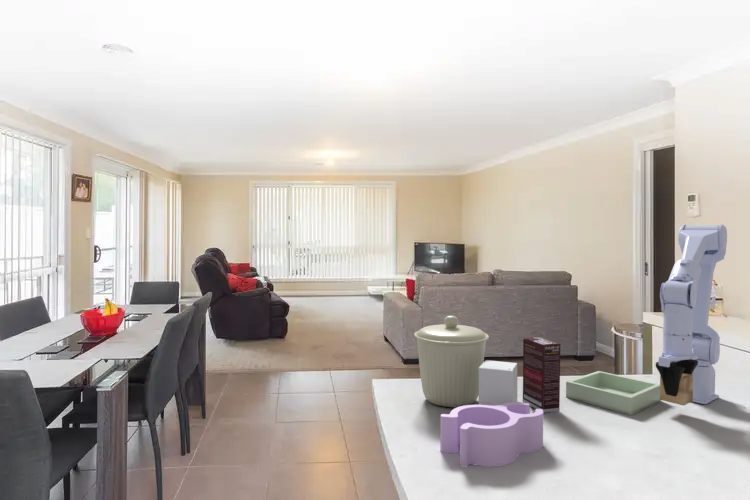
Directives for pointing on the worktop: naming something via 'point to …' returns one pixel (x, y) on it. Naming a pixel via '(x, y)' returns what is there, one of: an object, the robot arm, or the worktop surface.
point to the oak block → (679, 391)
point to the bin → (613, 392)
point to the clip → (491, 433)
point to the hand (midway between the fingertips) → (676, 392)
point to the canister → (450, 362)
